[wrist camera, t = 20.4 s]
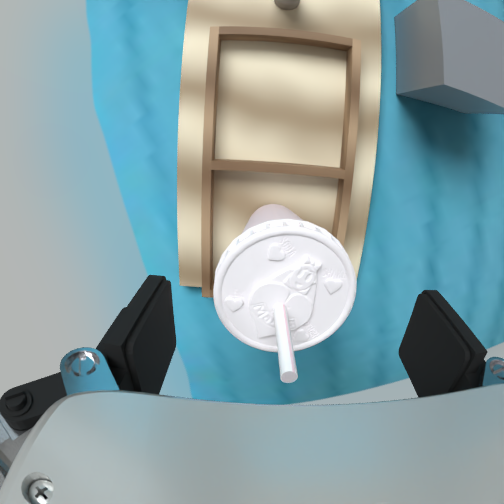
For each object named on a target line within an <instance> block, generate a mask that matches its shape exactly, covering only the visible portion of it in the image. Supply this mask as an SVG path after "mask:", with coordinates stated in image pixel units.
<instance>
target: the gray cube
mask: <svg viewBox="0 0 504 504" xmlns="http://www.w3.org/2000/svg"><path fill="white" fill-rule="evenodd" d="M394 18H395V35H396V94H397V95H402V96H406V97H410V98H414V99H418V100H422V101H425V102H429V103H433V104H436V105H440V106H443V107H446V108H450V109H453V110H456V111H459V112H462V113H481V114H504V22H503V21H502V20H500V19H498V18H497V17H495V16H493V15H491V14H490V13H488V12H486V11H484V10H482V9H480V8H479V7H477V6H475V5H473V4H471V3H469V2H467V1H465V0H417V1H416V2H414V3H413V4H411V5H410V6H409V7H407V8H406V9H405V10H403V11H402V12H401V13H399V14H398V15H397V16H395V17H394Z"/></svg>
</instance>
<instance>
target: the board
mask: <svg viewBox="0 0 504 504" xmlns="http://www.w3.org/2000/svg"><path fill="white" fill-rule="evenodd" d="M380 87H381V19H380V0H188V8H187V16H186V25H185V35H184V45H183V57H182V69H181V84H180V101H179V123H178V158H177V218H178V255H179V277H180V286H193V287H202V297H212V298H214V297H213V288H214V280H215V270H216V268H217V265H218V263H219V261H220V258H221V256H222V254H223V252H224V251H225V250H226V249H227V247H228V246H229V245H230V244H231V242H232V241H233V240H234V239H235V238H237V237H238V236H239V235H241V234H242V232H243V230H244V228H245V226H246V224H247V223H248V221H249V219H250V217H251V215H252V214H253V213H254V212H255V211H256V210H257V209H259V208H260V207H262V206H265V205H268V204H279V205H282V206H285V207H287V208H288V209H290V210H291V211H292V212H293V213H295V214H296V215H297V216H298V217H300V218H301V219H302V220H303V221H308V222H310V223H312V224H315V225H317V226H319V227H321V228H324V229H326V230H327V231H328V232H329V233H330V234H331V235H333V236H334V237H335V238H336V239H337V240H339V242H340V243H341V245H342V246H343V248H344V249H345V251H346V252H347V254H348V256H349V259H350V261H351V263H352V265H353V268H354V271H355V276H356V280H357V275H358V270H359V265H360V260H361V255H362V250H363V244H364V238H365V232H366V226H367V220H368V214H369V207H370V200H371V192H372V185H373V176H374V168H375V158H376V148H377V137H378V124H379V109H380Z"/></svg>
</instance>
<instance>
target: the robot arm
mask: <svg viewBox="0 0 504 504" xmlns="http://www.w3.org/2000/svg"><path fill="white" fill-rule="evenodd" d="M175 347H176V334H175V325H174V314H173V304H172V292H171V282H170V281H168V280H166V278H165V276H156V275H149V276H148V277H147V279H146V280H145V281H144V283H143V284H142V286H141V287H140V289H139V290H138V291H137V293H136V294H135V296H134V297H133V299H132V300H131V302H130V303H129V304H128V306H127V307H125V308H123V309H122V310H121V312H120V313H119V315H118V316H117V318H116V319H115V321H114V322H113V324H112V325H111V326H110V328H109V329H108V331H107V332H106V334H105V335H104V337H103V338H102V340H101V342H100V343H99V345H98V346H97V348H96V349H94V348H88V347H83V348H77V349H75V350H72V351H70V352H69V353H67V354H66V355H65V356H64V357H63V358H62V360H61V363H60V370H61V372H59V373H56V374H53V375H51V376H47V377H45V378H41V379H38V380H36V381H32V382H30V383H26V384H23V385H20V386H17V387H14V388H12V389H10V390H8V391H7V392H6V393H4V395H3V396H2V397H1V399H0V504H504V359H502V358H499V357H492V358H489V359H488V360H487V361H486V362H485V360H484V357H485V356H486V354H487V350H486V349H485V348H484V346H483V345H482V344H481V343H480V341H479V340H478V339H477V337H476V336H475V335H474V334H473V332H472V331H471V330H470V329H469V327H468V326H467V325H466V324H465V322H464V321H463V320H462V319H461V318H460V316H459V315H458V314H457V313H456V312H455V310H454V309H453V308H452V307H451V306H450V304H449V303H448V302H447V301H446V300H445V299H444V297H443V296H442V295H441V294H440V293H439V292H438V291H437V290H424V291H423V292H422V293H421V294H419V295H418V297H417V300H416V303H415V306H414V309H413V312H412V315H411V318H410V321H409V323H408V326H407V329H406V332H405V334H404V337H403V340H402V342H401V345H400V348H399V357H400V359H401V361H402V363H403V365H404V367H405V369H406V371H407V373H408V376H409V378H410V380H411V382H412V384H413V386H414V389H415V391H416V393H417V395H418V397H419V398H411V399H403V400H394V401H383V402H372V403H358V404H357V403H356V404H338V405H337V404H336V405H268V404H247V403H232V402H220V401H209V400H200V399H192V398H184V397H175V396H166V395H159V392H160V390H161V387H162V384H163V381H164V378H165V376H166V373H167V370H168V367H169V365H170V361H171V359H172V356H173V353H174V351H175Z"/></svg>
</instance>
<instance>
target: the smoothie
mask: <svg viewBox="0 0 504 504" xmlns="http://www.w3.org/2000/svg"><path fill="white" fill-rule="evenodd" d="M355 295H356V276H355V271H354V268H353V265H352V263H351V261H350V259H349V256H348V254H347V252H346V251H345V249H344V248H343V246H342V245H341V243H340V242H339V240H337V239H336V238H335V237H334V236H333V235H331V234H330V233H329V232H328V231H327V230H326V229H324V228H321V227H319V226H317V225H315V224H312V223H310V222H308V221H303V220H302V219H301V218H300V217H298V216H297V215H296V214H295V213H293V212H292V211H291V210H290V209H288V208H287V207H285V206H282V205H279V204H268V205H265V206H262V207H260V208H259V209H257V210H256V211H255V212H254V213H253V214H252V215H251V217H250V219H249V221H248V223H247V224H246V226H245V228H244V230H243V232H242V234H241V235H239V236H238V237H237V238H235V239H234V240H233V241H232V242H231V244H230V245H229V246H228V247H227V249H226V250H225V251H224V252H223V254H222V256H221V258H220V261H219V263H218V265H217V268H216V270H215V280H214V288H213V297H214V304H215V308H216V311H217V314H218V316H219V318H220V320H221V321H222V323H223V324H224V326H225V327H226V328H227V330H228V331H229V332H230V333H231V334H232V335H233V336H235V337H236V338H237V339H239V340H240V341H242V342H243V343H245V344H247V345H249V346H252V347H254V348H257V349H260V350H264V351H270V352H278V358H279V368H280V378H281V380H282V381H283V382H285V383H291V382H294V381H295V380H296V379H297V378H298V375H297V368H296V362H295V356H294V351H298V350H302V349H306V348H308V347H311V346H314V345H316V344H318V343H320V342H321V341H323V340H325V339H326V338H328V337H329V336H330V335H332V334H333V333H334V332H335V331H336V330H337V329H338V328H339V327H340V326H341V325H342V324H343V322H344V321H345V320H346V318H347V316H348V315H349V313H350V311H351V309H352V306H353V304H354V300H355Z"/></svg>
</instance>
